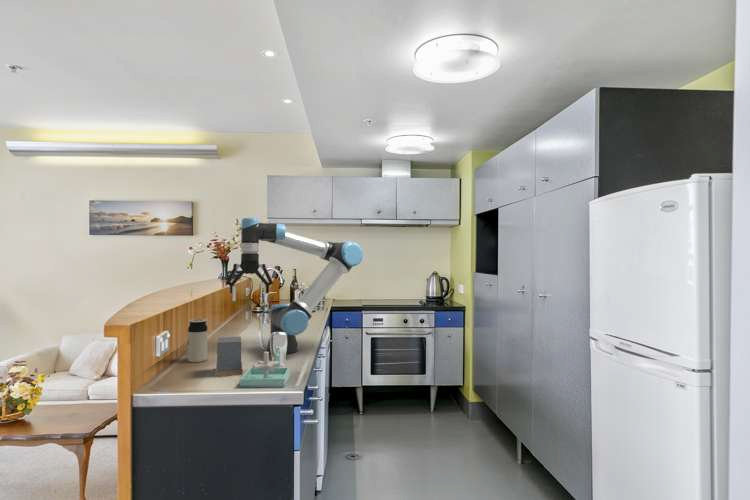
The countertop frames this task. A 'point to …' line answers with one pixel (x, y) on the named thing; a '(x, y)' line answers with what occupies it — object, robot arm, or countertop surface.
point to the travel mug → (197, 340)
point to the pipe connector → (266, 365)
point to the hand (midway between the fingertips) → (249, 300)
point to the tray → (256, 378)
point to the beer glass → (278, 348)
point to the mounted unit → (229, 357)
